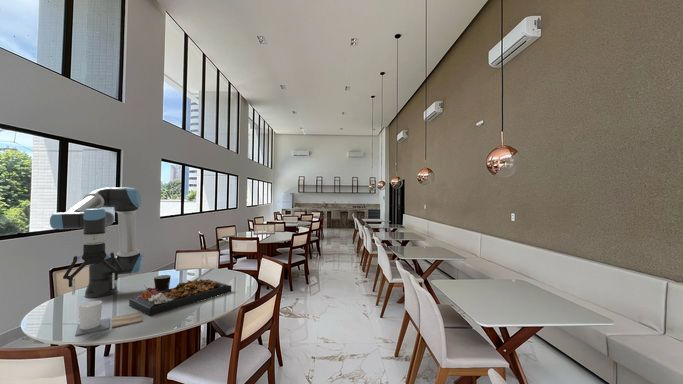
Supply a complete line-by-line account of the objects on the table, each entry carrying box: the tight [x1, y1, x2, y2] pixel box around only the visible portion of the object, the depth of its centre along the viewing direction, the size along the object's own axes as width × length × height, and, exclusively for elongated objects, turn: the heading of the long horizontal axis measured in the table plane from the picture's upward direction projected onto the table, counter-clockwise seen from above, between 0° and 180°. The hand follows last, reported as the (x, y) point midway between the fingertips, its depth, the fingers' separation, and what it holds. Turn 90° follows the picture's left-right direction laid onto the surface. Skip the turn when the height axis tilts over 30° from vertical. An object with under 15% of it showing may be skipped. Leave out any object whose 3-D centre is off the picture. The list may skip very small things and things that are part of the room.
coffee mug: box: [153, 274, 171, 291], centre depth 178 cm, size 12×9×10 cm
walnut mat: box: [111, 311, 143, 329], centre depth 138 cm, size 13×11×1 cm
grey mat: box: [75, 317, 110, 337], centre depth 130 cm, size 13×11×1 cm
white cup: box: [78, 300, 103, 330], centre depth 130 cm, size 8×8×10 cm
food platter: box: [128, 278, 232, 317], centre depth 168 cm, size 45×25×10 cm, turn 145°
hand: (94, 290), depth 131 cm, fingers open, 13 cm apart
